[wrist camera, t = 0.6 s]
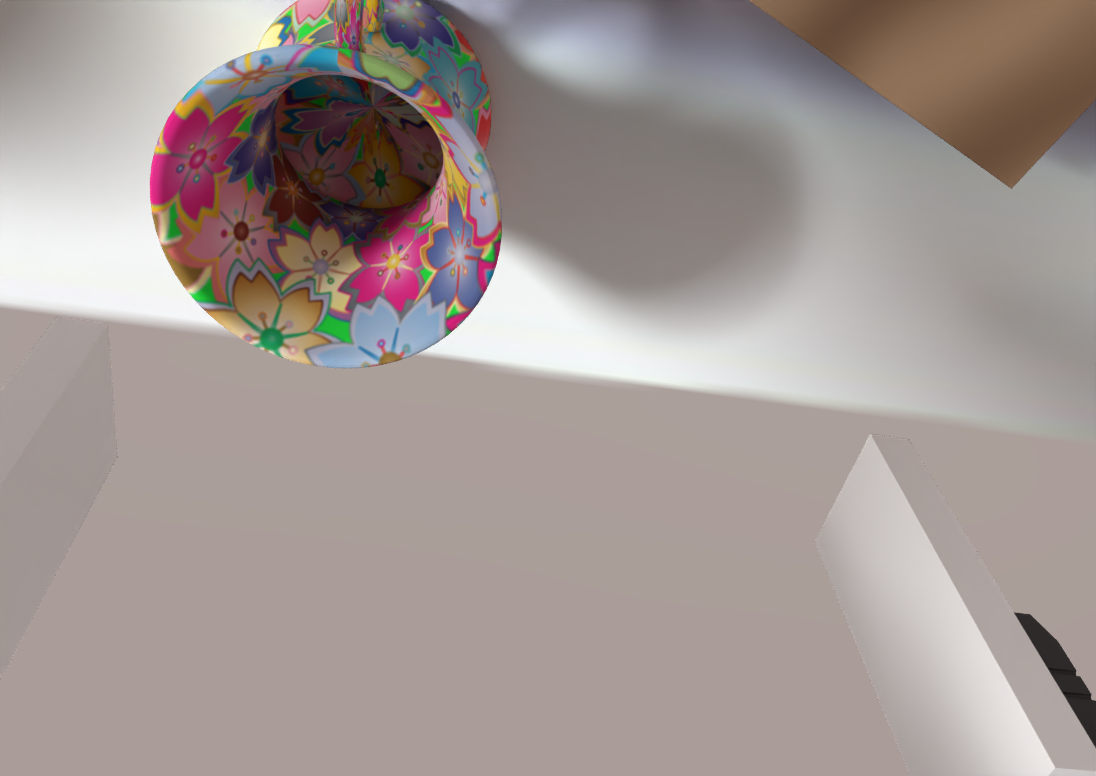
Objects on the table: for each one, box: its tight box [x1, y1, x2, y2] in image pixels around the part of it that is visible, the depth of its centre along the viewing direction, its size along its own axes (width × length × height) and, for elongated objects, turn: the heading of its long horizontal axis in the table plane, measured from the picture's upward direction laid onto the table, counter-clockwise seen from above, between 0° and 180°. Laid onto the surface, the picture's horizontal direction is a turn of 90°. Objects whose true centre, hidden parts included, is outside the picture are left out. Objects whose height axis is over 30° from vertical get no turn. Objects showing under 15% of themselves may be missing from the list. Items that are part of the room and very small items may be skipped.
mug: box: [150, 0, 502, 368], centre depth 28 cm, size 12×9×11 cm
